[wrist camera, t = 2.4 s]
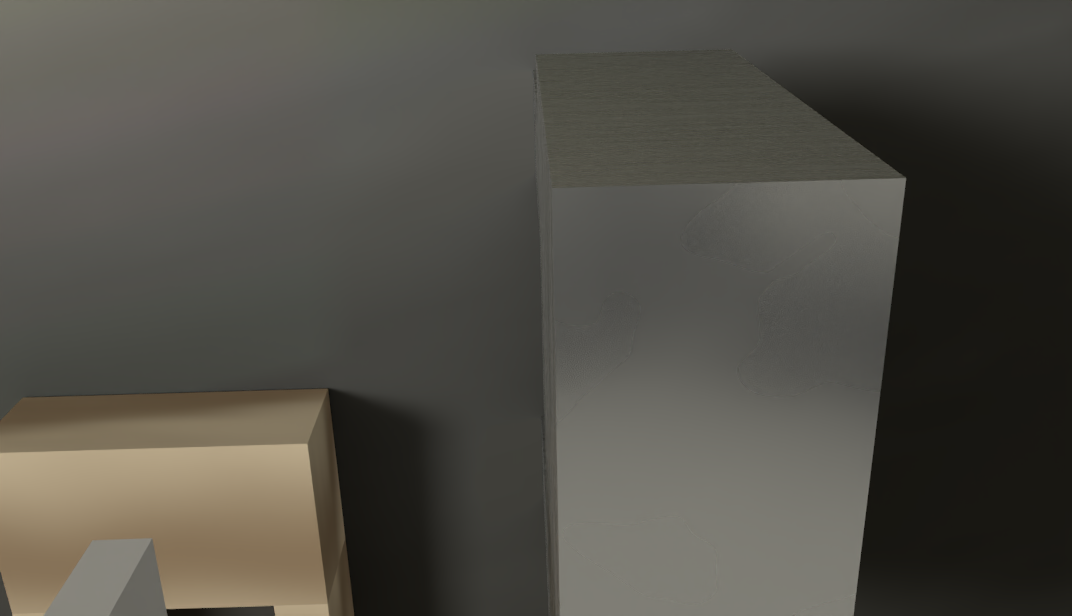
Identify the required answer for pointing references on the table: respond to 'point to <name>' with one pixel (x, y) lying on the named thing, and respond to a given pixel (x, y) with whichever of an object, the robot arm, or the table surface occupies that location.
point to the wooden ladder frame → (178, 496)
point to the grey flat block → (705, 337)
